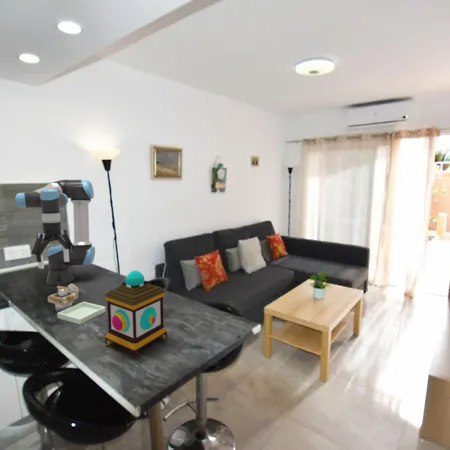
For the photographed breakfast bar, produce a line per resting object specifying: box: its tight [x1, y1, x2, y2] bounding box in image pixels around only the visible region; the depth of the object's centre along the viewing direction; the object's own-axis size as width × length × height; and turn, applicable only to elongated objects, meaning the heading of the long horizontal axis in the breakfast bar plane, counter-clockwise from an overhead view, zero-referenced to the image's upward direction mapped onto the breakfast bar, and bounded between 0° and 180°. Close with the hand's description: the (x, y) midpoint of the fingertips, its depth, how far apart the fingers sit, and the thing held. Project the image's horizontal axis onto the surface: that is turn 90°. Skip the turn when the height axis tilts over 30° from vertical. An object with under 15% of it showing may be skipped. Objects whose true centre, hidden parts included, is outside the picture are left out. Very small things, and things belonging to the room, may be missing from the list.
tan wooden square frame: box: [47, 291, 79, 305], centre depth 148 cm, size 10×12×3 cm
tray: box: [56, 301, 107, 325], centre depth 143 cm, size 15×15×2 cm
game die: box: [65, 282, 82, 294], centre depth 163 cm, size 9×8×10 cm
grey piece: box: [54, 285, 73, 313], centre depth 148 cm, size 8×8×12 cm
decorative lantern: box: [103, 269, 168, 359], centre depth 117 cm, size 20×20×30 cm
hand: (54, 264), depth 145 cm, fingers open, 13 cm apart
